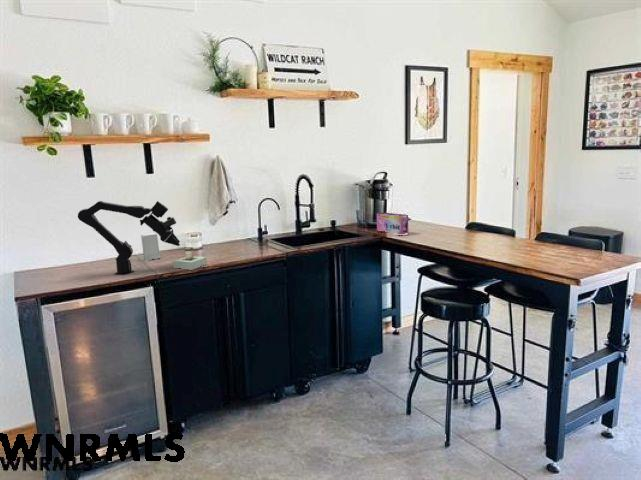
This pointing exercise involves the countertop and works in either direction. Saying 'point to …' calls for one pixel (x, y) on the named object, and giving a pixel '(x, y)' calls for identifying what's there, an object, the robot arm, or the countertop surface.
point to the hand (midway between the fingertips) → (179, 243)
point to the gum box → (392, 223)
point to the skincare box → (150, 246)
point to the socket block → (189, 263)
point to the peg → (189, 254)
